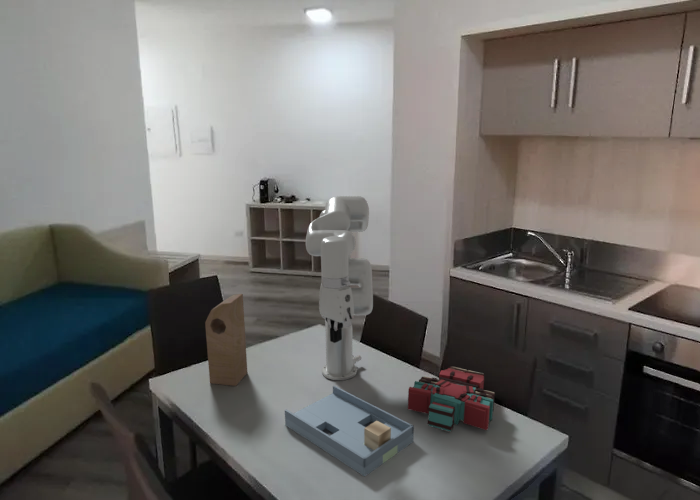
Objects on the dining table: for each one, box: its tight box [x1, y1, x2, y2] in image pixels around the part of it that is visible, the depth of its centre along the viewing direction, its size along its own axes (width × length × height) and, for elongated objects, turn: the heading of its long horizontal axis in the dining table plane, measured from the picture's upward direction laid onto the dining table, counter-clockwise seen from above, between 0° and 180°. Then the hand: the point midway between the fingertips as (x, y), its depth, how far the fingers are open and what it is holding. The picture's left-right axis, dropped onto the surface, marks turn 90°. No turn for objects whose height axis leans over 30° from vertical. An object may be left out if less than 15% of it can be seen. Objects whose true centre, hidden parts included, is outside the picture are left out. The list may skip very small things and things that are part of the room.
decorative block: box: [204, 293, 248, 387], centre depth 170 cm, size 10×10×30 cm
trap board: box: [284, 385, 415, 477], centre depth 141 cm, size 20×32×5 cm, turn 45°
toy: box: [407, 366, 496, 433], centre depth 153 cm, size 24×9×30 cm
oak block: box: [364, 421, 391, 450], centre depth 132 cm, size 5×5×5 cm
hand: (335, 340), depth 143 cm, fingers closed
